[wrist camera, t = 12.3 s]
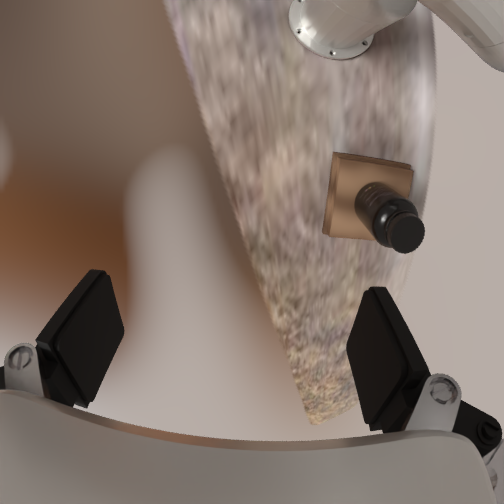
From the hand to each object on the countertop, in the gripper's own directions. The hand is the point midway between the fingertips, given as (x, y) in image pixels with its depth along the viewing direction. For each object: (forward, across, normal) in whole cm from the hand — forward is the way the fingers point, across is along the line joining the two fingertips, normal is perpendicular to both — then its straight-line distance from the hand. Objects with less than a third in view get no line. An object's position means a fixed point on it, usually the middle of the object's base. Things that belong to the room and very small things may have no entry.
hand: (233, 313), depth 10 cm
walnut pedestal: (+34, -18, +5) cm, 39 cm away
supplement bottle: (+32, -18, +5) cm, 37 cm away
